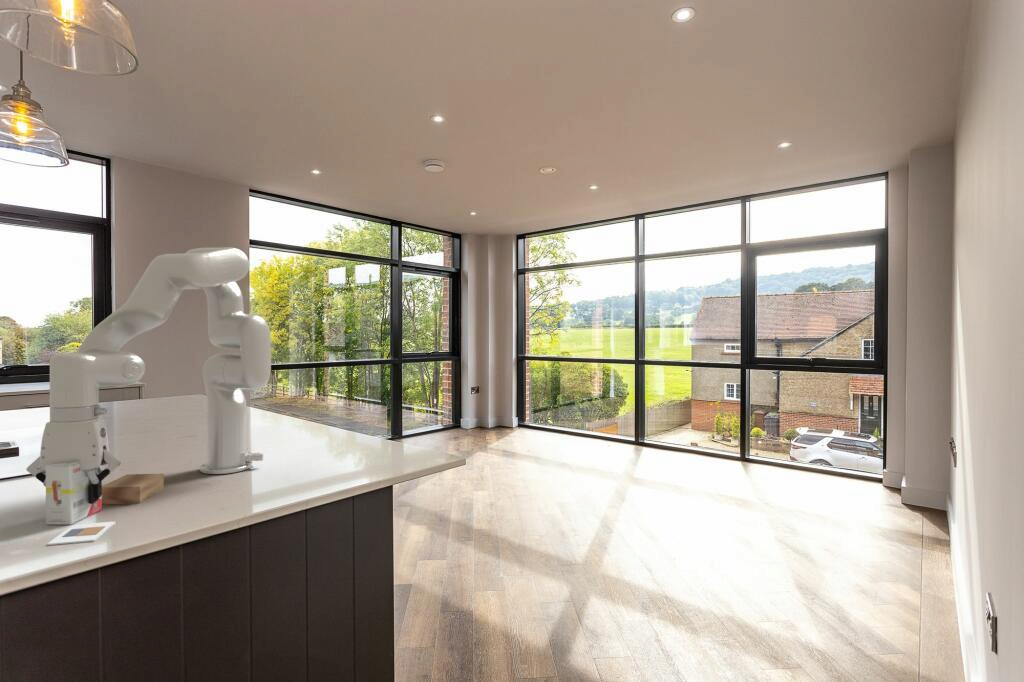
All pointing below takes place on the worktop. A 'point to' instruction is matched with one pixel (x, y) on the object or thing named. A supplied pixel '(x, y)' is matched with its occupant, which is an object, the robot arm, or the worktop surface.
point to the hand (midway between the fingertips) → (74, 502)
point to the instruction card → (82, 533)
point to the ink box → (68, 494)
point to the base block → (132, 488)
